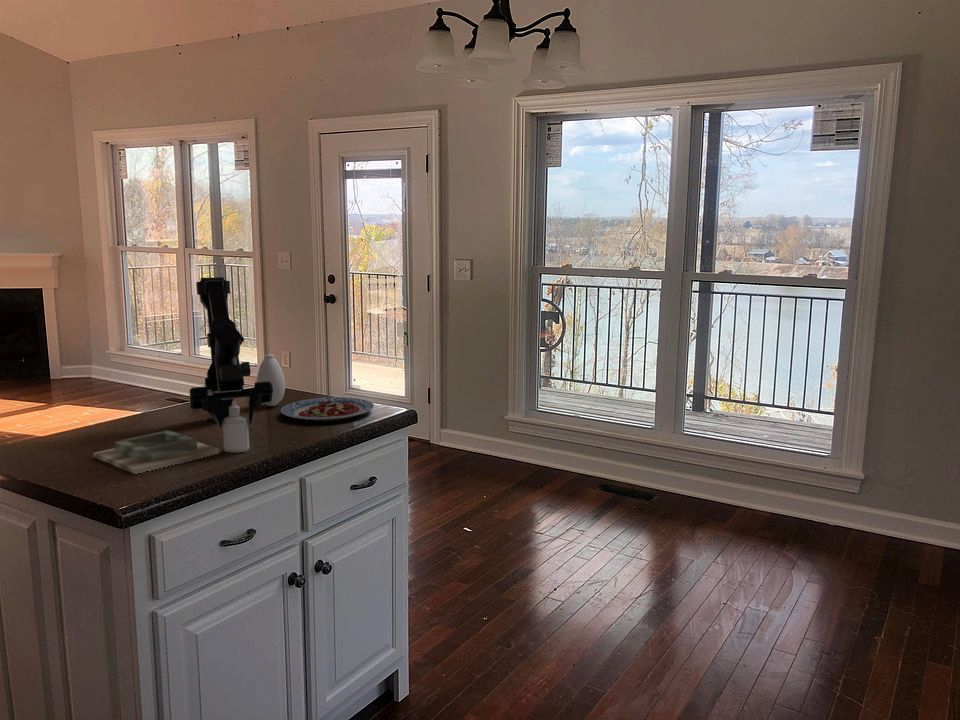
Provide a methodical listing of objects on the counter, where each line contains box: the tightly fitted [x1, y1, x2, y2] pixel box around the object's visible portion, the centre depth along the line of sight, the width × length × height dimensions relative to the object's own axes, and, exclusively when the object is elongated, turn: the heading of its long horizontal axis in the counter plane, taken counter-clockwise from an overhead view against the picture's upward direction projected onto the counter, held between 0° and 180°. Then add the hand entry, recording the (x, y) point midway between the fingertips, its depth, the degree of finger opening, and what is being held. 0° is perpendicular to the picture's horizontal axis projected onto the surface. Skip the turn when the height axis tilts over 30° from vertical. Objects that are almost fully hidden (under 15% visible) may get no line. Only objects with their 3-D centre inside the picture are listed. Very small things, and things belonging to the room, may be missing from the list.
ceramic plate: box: [280, 396, 375, 422], centre depth 217 cm, size 26×26×3 cm
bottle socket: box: [93, 429, 220, 475], centre depth 178 cm, size 20×20×4 cm
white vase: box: [256, 345, 286, 407], centre depth 226 cm, size 8×8×18 cm
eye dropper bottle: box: [222, 400, 250, 453], centre depth 180 cm, size 4×6×12 cm
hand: (235, 424), depth 179 cm, fingers open, 6 cm apart
